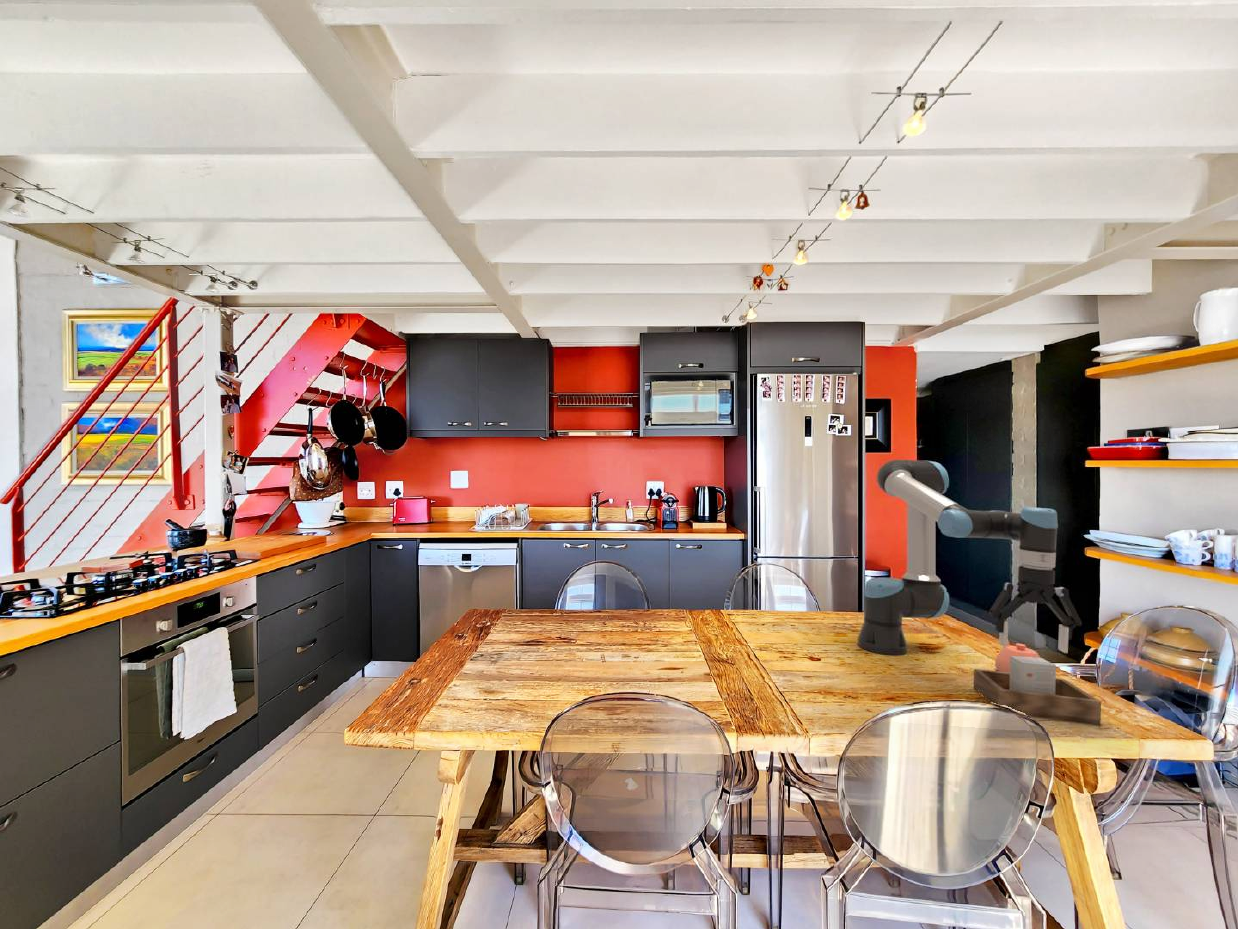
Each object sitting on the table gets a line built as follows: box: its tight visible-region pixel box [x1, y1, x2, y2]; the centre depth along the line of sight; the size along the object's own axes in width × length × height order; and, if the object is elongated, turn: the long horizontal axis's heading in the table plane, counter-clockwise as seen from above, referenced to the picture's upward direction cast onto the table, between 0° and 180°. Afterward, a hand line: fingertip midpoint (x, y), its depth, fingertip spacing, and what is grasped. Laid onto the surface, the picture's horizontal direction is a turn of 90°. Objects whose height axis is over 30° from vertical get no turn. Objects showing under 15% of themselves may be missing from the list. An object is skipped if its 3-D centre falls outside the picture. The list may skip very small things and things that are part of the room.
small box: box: [1009, 656, 1057, 695], centre depth 138 cm, size 8×6×10 cm
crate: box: [973, 668, 1102, 726], centre depth 138 cm, size 21×15×6 cm
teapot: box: [994, 639, 1041, 673], centre depth 160 cm, size 12×18×10 cm
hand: (1032, 648), depth 138 cm, fingers open, 13 cm apart
